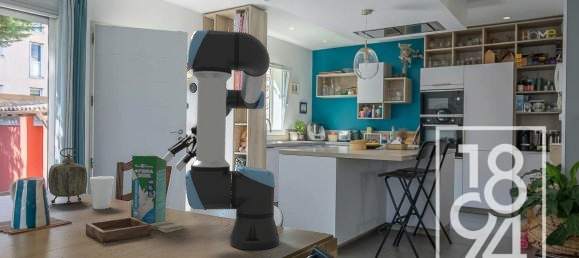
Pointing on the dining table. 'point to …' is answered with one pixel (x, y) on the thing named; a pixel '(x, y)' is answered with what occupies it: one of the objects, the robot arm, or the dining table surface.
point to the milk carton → (148, 188)
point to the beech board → (166, 226)
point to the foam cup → (101, 191)
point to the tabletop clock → (67, 178)
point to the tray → (118, 229)
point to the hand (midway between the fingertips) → (168, 167)
